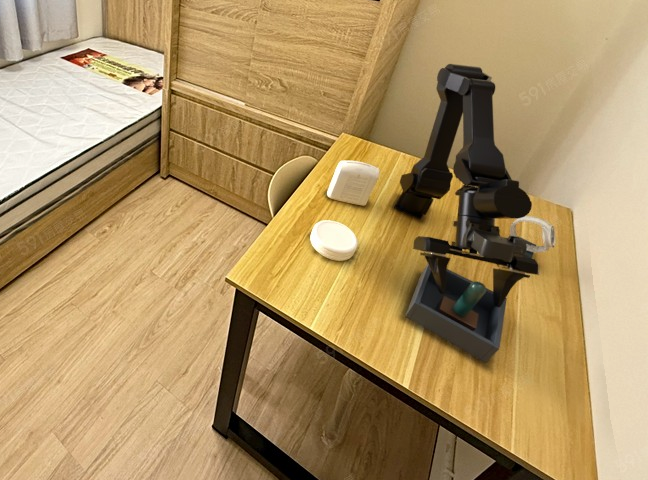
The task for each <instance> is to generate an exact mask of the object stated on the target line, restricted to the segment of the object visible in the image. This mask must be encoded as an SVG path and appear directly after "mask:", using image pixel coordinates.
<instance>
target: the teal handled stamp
mask: <svg viewBox="0 0 648 480" xmlns="http://www.w3.org/2000/svg"><path fill="white" fill-rule="evenodd" d="M486 288H487V286H486V285H485V284H484V283H483V282H481V281H476V280H475V281H473V282H472V283H471V284H470V285H469V286H468V288H467V289H466V290H465V292H464V293H463V294H462V295H461V297H460V298H459V299H458V301H457V302H455V301H453V300H451V299H449V298H447V297H445V296H443V297H442V299H441V300H440V302H439V303H438V304H437V307H436V310H435V311H437V312H439V313H440V314H442V315H444V316H446V317H448V318H450V319H451V320H453V321H455V322H457V323H459V324H460V325H462V326H464V327H466V328H468V329H470V330H471V331H474V330H475V329H476V326H477V321H478V316H479V314H478V313H476V312H474V311H472V308H473V307H474V306H475V305H476V304H477V302H478V301H479V300H480V299H481V297H482V296H483V295H484V294H485V292H486Z"/></svg>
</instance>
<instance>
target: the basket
mask: <svg viewBox="0 0 648 480" xmlns="http://www.w3.org/2000/svg"><path fill="white" fill-rule="evenodd" d="M472 282H474V281H473V280H471V279H469V278H467V277H465V276H463V275H460V274H458V273H457V272H454V271H452V270H450V269H449V268H447V276H446V290H445V294H440V292H439V289H438V287H437V284H436V281H435V278H434V276H433V273H432V270H431V268H430V266H429V264H428V263H427V264H426V265H425V267H424V269H423V270H422V272H421V273H420V276H419V278H418V281H417V283H416V287H415V289H414V291H413V295H412V297H411V299H410V303H409V306H408V307H407V310H406V313H405V316H404V317H405V318H407V319H409V320H411V321H412V322H414V323H415V324H417V325H419V326H421V327H422V328H424V329H425V330H428V331H429V332H431V333H433V334H434V335H436V336H438V337H440V338H441V339H443V340H445V341H447V342H448V343H450V344H451V345H454V346H456V347H457V348H459V349H460V350H463V351H464V352H466V353H468V354H469V355H471V356H473V357H474V358H476V359H478V360H480V361H481V362H483V363H485V364H486V363H487V362H489V360H490V359H491V358H492V357H493V356H494V355H495V354H496V353H497V352H498V351H499V350H500V347H501V346H500V345H501V341H502V334H503V327H504V319H505V314H506V306H507V300H508V298H507V297H506V298H505V300H504V302H503V304H502V305H501V307H500V308H499V307H495V306H494V300H493V290H492V289H489V288H488V287H486V292H485V294H484V295H483V296H482V297H481V299H480V300H479V301H478V302H477V304H476V305H475V306H474V307H473V308H472V311H474V312H476V313H478V314H479V316H478V321H477V326H476V329H475V330H474V331H471V330H470V329H468V328H466V327H464V326H462V325H460V324H459V323H457V322H455V321H453V320H451V319H450V318H448V317H446V316H444V315H442V314H440V313H439V312H437V311H435V310H436V307H437V304H438V303H439V302H440V300H441V299H442V297H443V296H445V297H447V298H449V299H451V300H453V301H455V302H457V301H458V299H459V298H460V297H461V295H462V294H463V293H464V292H465V290H466V289H467V288H468V286H469V285H470V284H471V283H472Z"/></svg>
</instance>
